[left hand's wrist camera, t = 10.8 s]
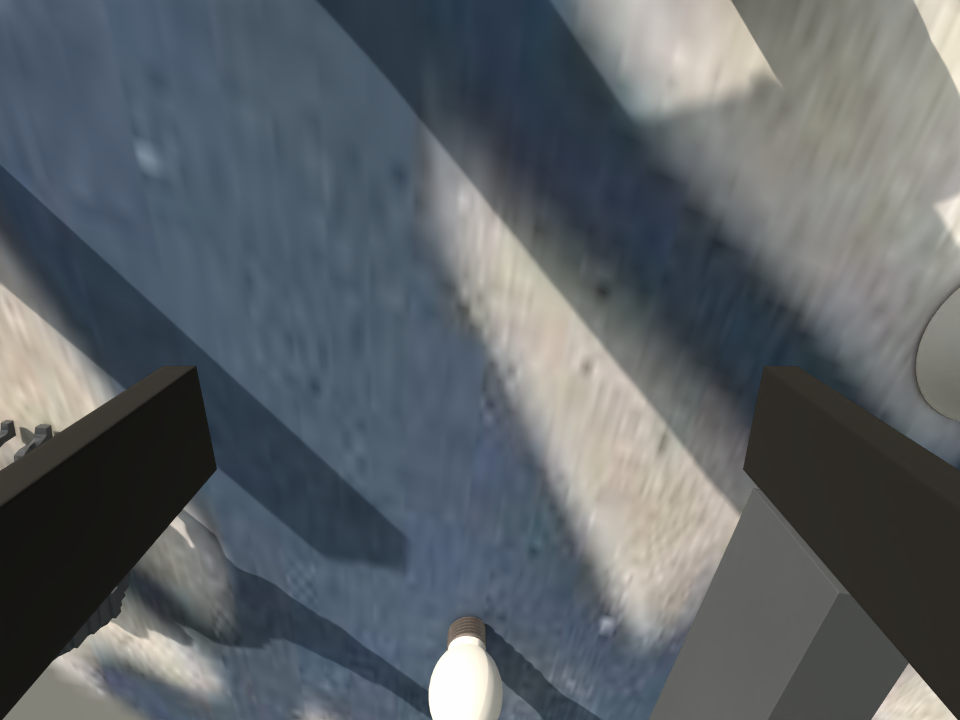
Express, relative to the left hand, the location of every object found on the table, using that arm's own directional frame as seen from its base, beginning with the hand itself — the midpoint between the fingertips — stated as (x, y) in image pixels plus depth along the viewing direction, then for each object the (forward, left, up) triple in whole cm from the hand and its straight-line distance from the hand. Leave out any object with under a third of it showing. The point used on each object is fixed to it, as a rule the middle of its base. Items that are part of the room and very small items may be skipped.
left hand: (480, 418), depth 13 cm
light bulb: (+40, -1, -30) cm, 50 cm away
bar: (+25, +16, -16) cm, 34 cm away
